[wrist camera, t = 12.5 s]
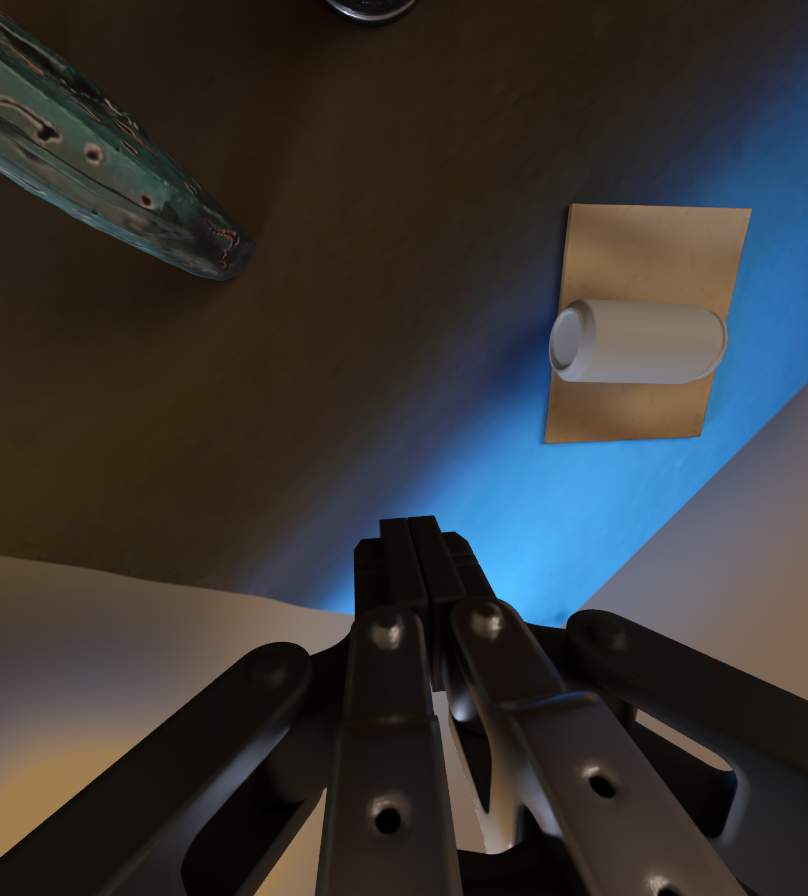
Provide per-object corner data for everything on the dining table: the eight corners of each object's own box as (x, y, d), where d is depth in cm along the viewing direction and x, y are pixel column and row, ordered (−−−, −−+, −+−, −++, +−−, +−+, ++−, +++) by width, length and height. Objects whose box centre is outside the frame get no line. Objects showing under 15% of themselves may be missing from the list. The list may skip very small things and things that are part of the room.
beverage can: (561, 285, 33) (696, 292, 35) (538, 357, 38) (659, 359, 39) (596, 321, 29) (750, 326, 30) (565, 397, 33) (701, 399, 34)
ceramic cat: (-43, 120, 27) (-922, -311, 8) (-6, 21, 26) (-940, -746, 7) (239, 302, 33) (89, 289, 14) (280, 227, 31) (178, 101, 13)
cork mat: (568, 205, 33) (572, 203, 33) (747, 209, 35) (752, 208, 35) (544, 442, 40) (546, 443, 39) (696, 435, 42) (700, 436, 41)
